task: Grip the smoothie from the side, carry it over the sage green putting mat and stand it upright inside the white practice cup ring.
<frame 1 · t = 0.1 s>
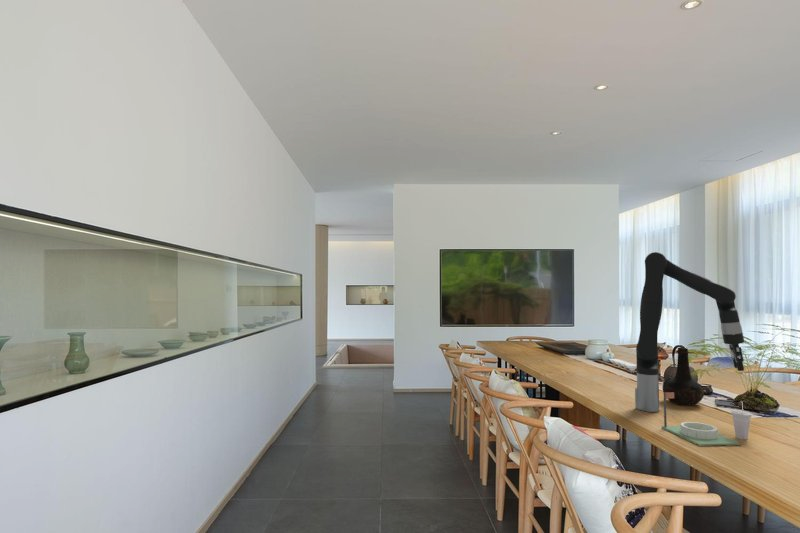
hand: (739, 369, 205), 22 cm above the table, tool pointing down, fingers open, 8 cm apart
glass bottle: (683, 403, 233), on the table
practice green: (698, 436, 182), on the table
smoothie: (741, 438, 180), on the table
picture frame: (737, 407, 228), on the table
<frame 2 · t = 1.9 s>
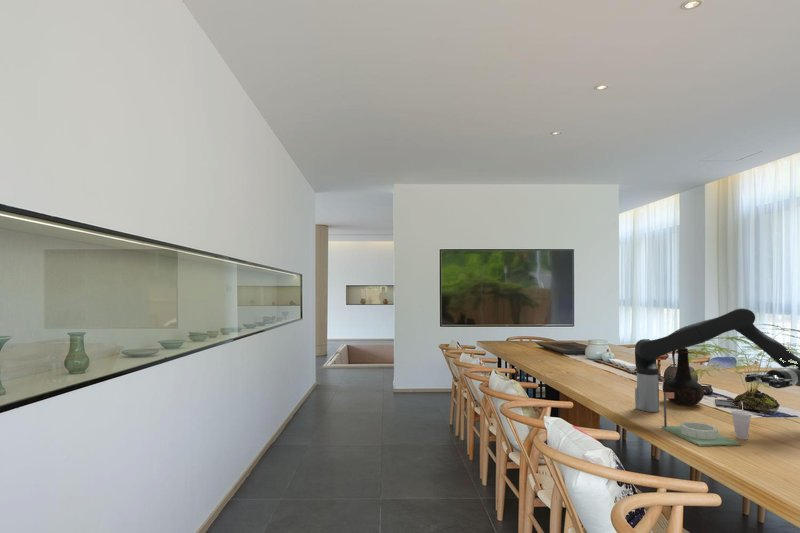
hand: (757, 381, 185), 21 cm above the table, tool horizontal, fingers open, 8 cm apart
nothing on the table moved.
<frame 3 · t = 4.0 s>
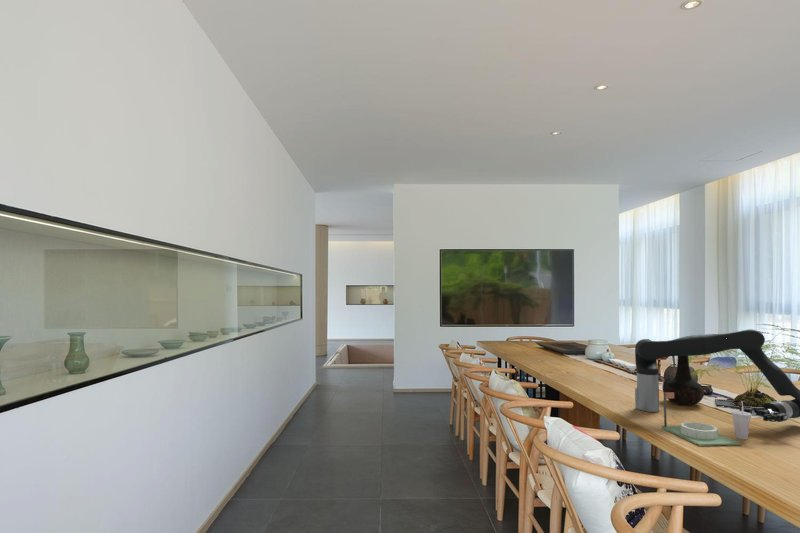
hand: (752, 415, 183), 8 cm above the table, tool horizontal, fingers open, 8 cm apart
nothing on the table moved.
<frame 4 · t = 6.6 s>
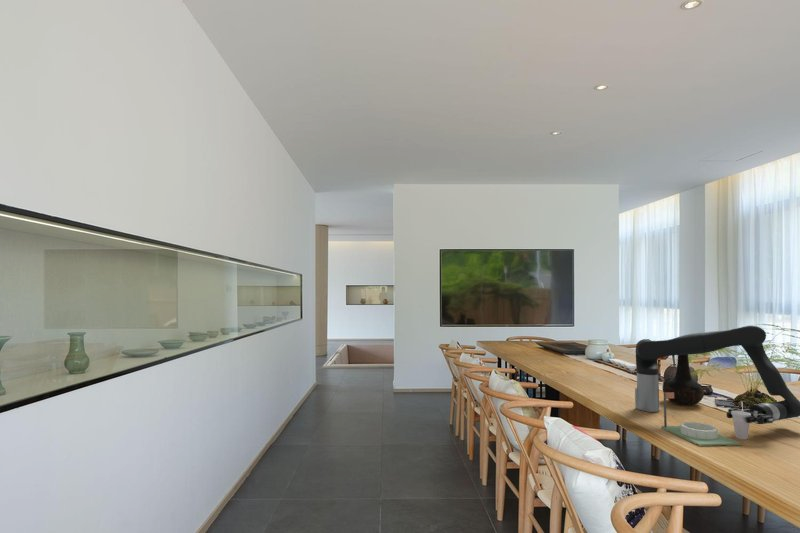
hand: (737, 417, 179), 8 cm above the table, tool horizontal, fingers closed on smoothie, 6 cm apart
smoothie: (741, 438, 180), on the table, touching gripper
everything else where it was.
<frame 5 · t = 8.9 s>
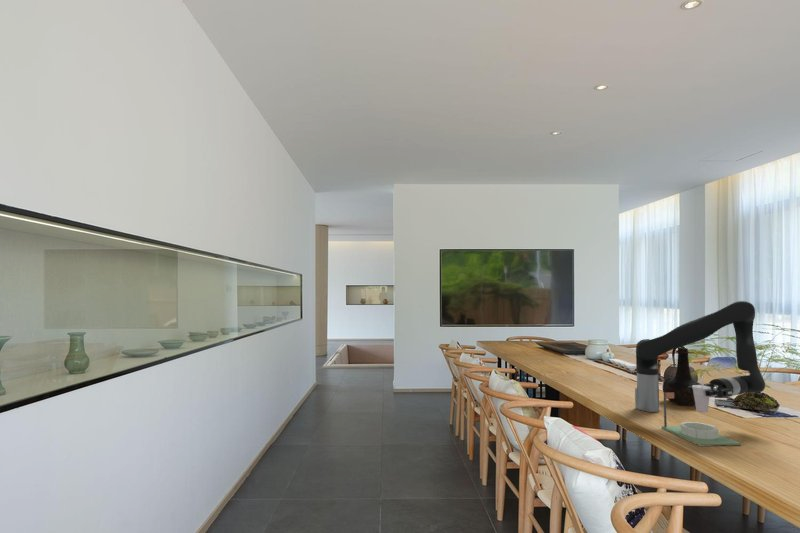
hand: (697, 391, 181), 18 cm above the table, tool horizontal, fingers closed on smoothie, 6 cm apart
smoothie: (702, 411, 182), point 10 cm above the table, touching gripper
everything else where it was.
when the fingers open (10 cm above the table, at t = 11.5 s): smoothie drops 1 cm, resting on practice green.
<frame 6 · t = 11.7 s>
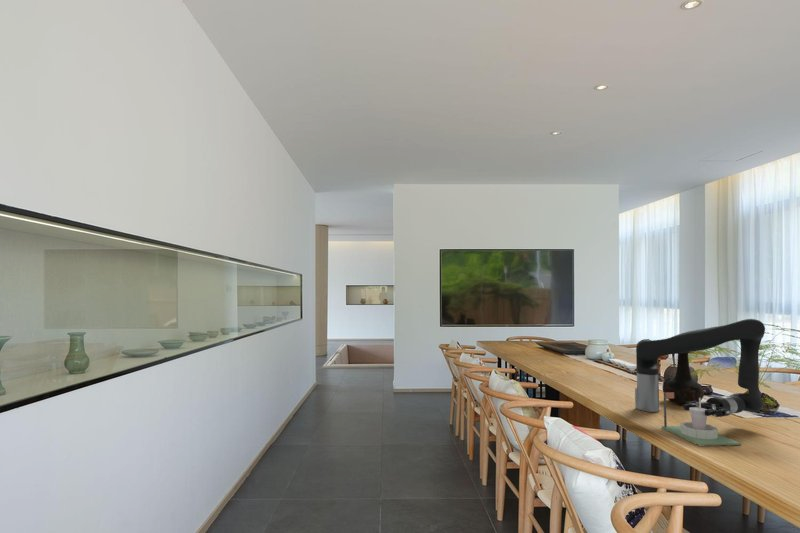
hand: (695, 410, 181), 10 cm above the table, tool horizontal, fingers open, 8 cm apart
smoothie: (699, 434, 182), point 1 cm above the table, touching practice green
everything else where it was.
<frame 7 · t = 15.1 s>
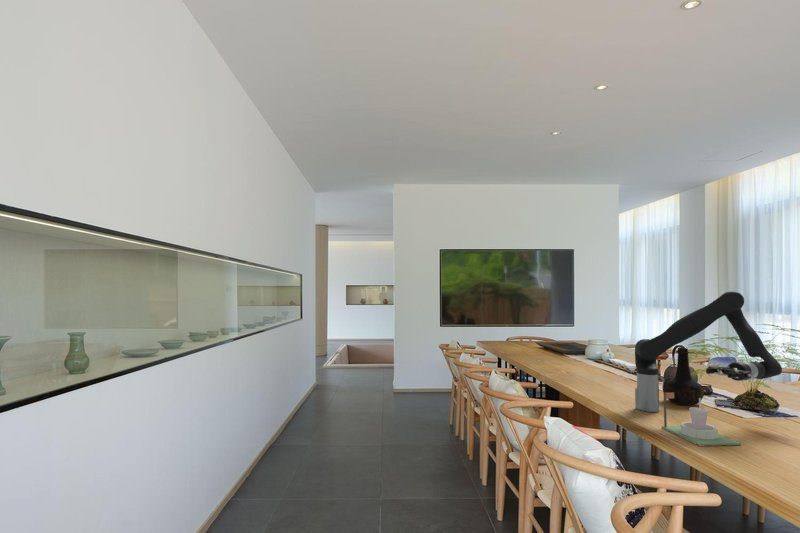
hand: (717, 373, 189), 24 cm above the table, tool horizontal, fingers open, 8 cm apart
nothing on the table moved.
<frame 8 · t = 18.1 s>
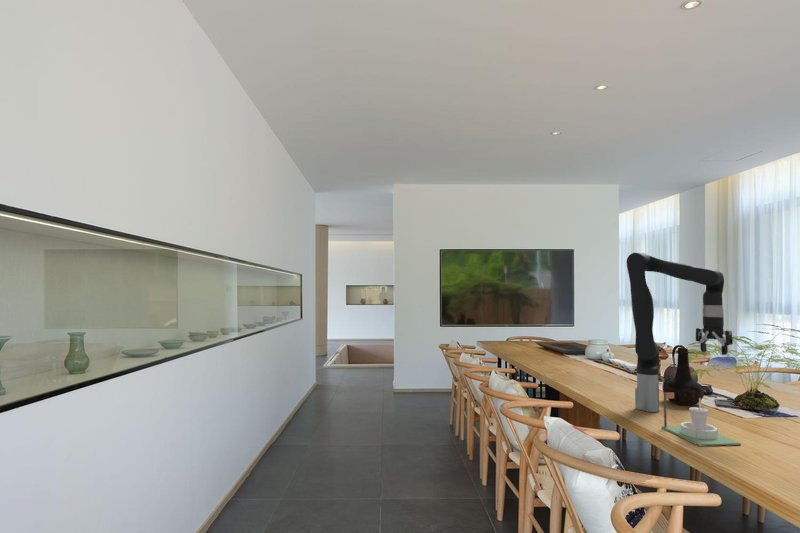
hand: (713, 353, 199), 30 cm above the table, tool pointing down, fingers open, 8 cm apart
nothing on the table moved.
at the end: smoothie 0.1 cm off-centre on the practice green, point 0.6 cm above the practice green's base; smoothie tilted 0°; the gripper is holding nothing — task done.
